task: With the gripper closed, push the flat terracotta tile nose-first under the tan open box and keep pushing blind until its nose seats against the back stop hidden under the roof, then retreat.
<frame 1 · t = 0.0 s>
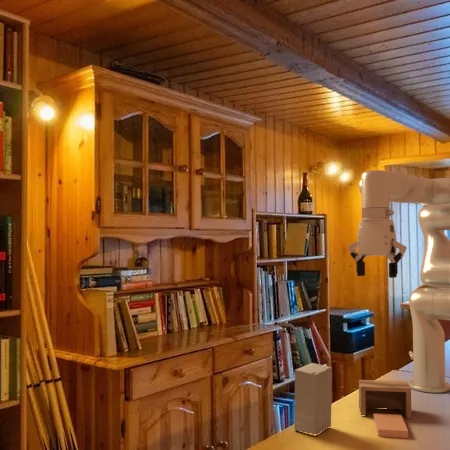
hand: (376, 276, 152), 37 cm above the table, tool pointing down, fingers open, 9 cm apart
terracotta tile: (390, 430, 138), on the table
skincare box: (313, 431, 138), on the table
tan open box: (385, 414, 149), on the table
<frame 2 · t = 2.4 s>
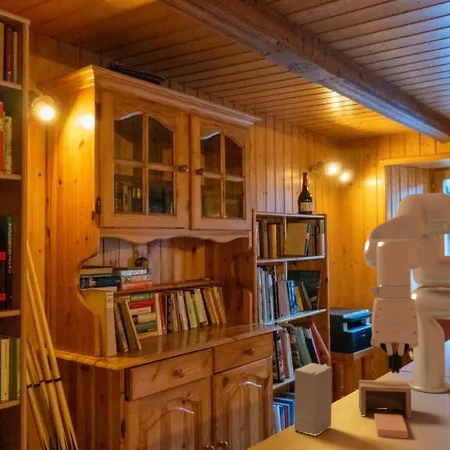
hand: (394, 371, 128), 17 cm above the table, tool pointing down, fingers closed
nothing on the table moved.
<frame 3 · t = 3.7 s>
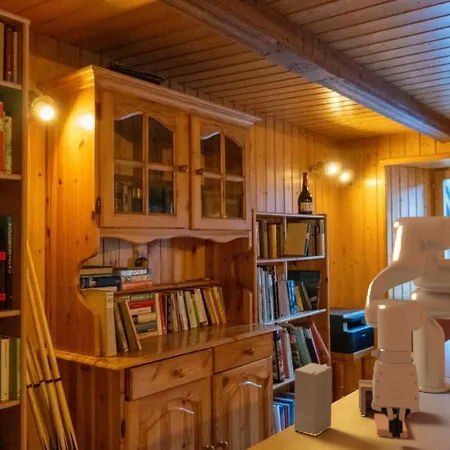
hand: (395, 435, 127), 2 cm above the table, tool pointing down, fingers closed
nothing on the table moved.
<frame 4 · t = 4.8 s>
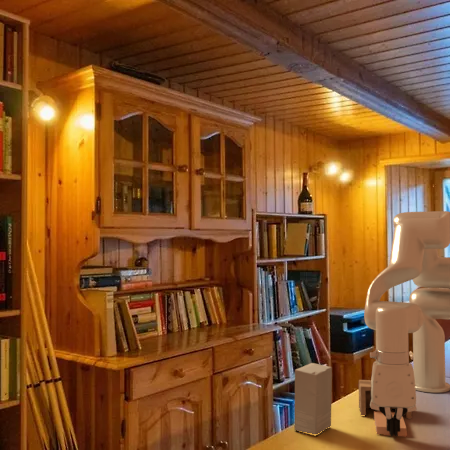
hand: (393, 434, 132), 1 cm above the table, tool pointing down, fingers closed
terracotta tile: (389, 428, 140), on the table
everything else where it was.
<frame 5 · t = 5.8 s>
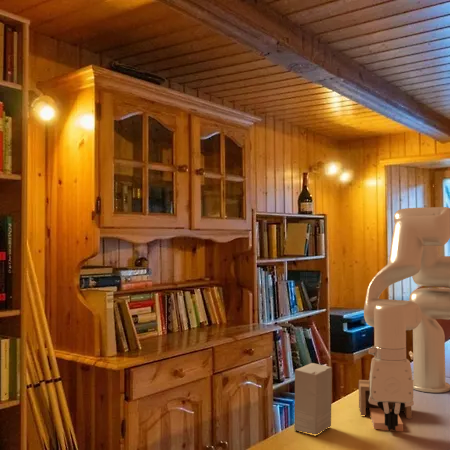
hand: (391, 428, 136), 1 cm above the table, tool pointing down, fingers closed
terracotta tile: (385, 424, 143), on the table
everything else where it was.
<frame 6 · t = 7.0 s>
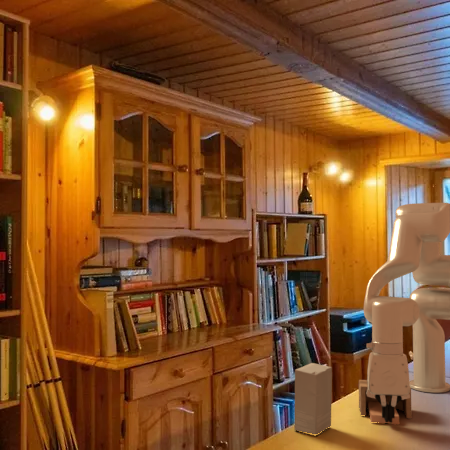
hand: (388, 420, 140), 1 cm above the table, tool pointing down, fingers closed
terracotta tile: (382, 416, 148), on the table, touching gripper
everything else where it was.
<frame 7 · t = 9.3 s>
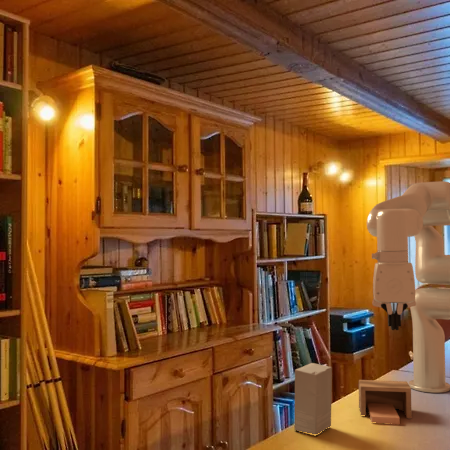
hand: (394, 329, 141), 25 cm above the table, tool pointing down, fingers closed
terracotta tile: (382, 418, 148), on the table
everything else where it was.
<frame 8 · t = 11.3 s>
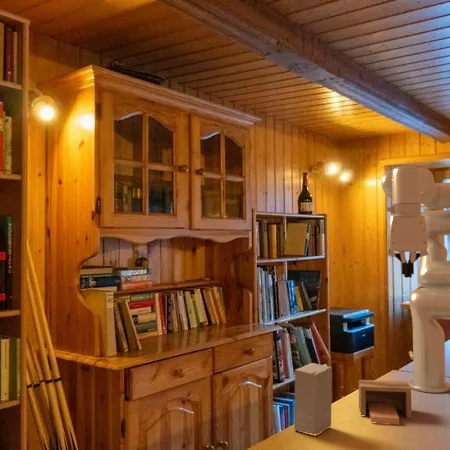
hand: (407, 277, 152), 37 cm above the table, tool pointing down, fingers closed
nothing on the table moved.
at the end: terracotta tile 1.7 cm from the target spot on the tan open box, point -0.5 cm above the tan open box's base; terracotta tile tilted 0°; terracotta tile moved 9.3 cm from its start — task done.
